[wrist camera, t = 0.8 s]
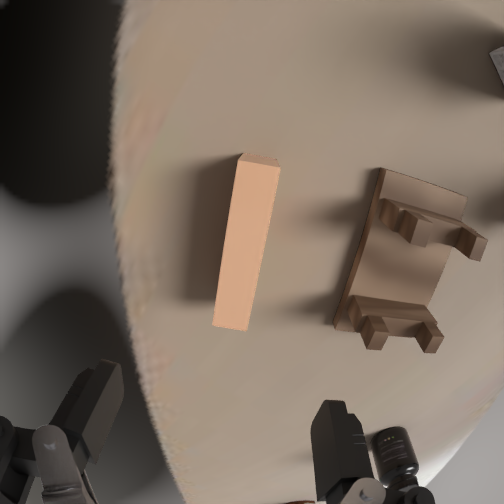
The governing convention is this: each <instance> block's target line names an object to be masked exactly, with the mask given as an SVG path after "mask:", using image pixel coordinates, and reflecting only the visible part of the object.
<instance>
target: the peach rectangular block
mask: <svg viewBox="0 0 504 504" xmlns="http://www.w3.org/2000/svg"><path fill="white" fill-rule="evenodd" d="M280 170H281V167H280V165H279V163H278V160H277V159H273V158H268V157H262V156H257V155H251V154H246V153H243V154H242V155H241V157H240V158H239V159H238V163H237V169H236V175H235V181H234V187H233V193H232V199H231V205H230V211H229V217H228V223H227V229H226V236H225V242H224V249H223V255H222V262H221V268H220V275H219V282H218V289H217V296H216V303H215V310H214V317H213V324H212V325H213V326H219V327H224V328H230V329H236V330H242V331H247V327H248V322H249V318H250V313H251V309H252V304H253V299H254V295H255V290H256V285H257V280H258V276H259V271H260V266H261V262H262V257H263V252H264V247H265V243H266V238H267V233H268V228H269V223H270V218H271V214H272V209H273V204H274V199H275V194H276V189H277V184H278V179H279V174H280Z"/></svg>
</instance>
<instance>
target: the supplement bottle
mask: <svg viewBox="0 0 504 504" xmlns="http://www.w3.org/2000/svg"><path fill="white" fill-rule="evenodd" d="M371 449H372V453H373V457H374V461H375V465H376V469H377V473H378V478H379V481H380V483H381V484H383V485H385V486H388V487H387V489H391V490H397V491H404V492H407V491H409V490H410V489H411V488H413V487H418V486H419V485H418V481H417V477H416V476H415V475H416V474H417V472H418V470H419V464H418V461H417V458H416V455H415V452H414V449H413V446H412V444H411V441H410V438H409V435H408V433H407V431H406V429H404V428H402V427H392V428H389V429H386V430H384V431H382V432H380V433H378V434H377V435H376V436H375V437H374V438H373V439H372V441H371Z"/></svg>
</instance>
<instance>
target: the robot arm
mask: <svg viewBox="0 0 504 504" xmlns="http://www.w3.org/2000/svg"><path fill="white" fill-rule="evenodd" d="M123 395H124V385H123V378H122V372H121V366H120V364H117V363H114V362H111V361H108V360H104V359H102V360H100V362H99V363H98V365H97V367H96V368H95V370H93V369H90V368H87V369H86V370H84V371H83V372H81V373H80V374H79V375H78V376H77V378H76V379H75V381H74V383H73V386H71V388H70V389H69V391H68V394H66V396H65V398H64V400H63V401H62V403H61V405H60V406H59V408H58V410H57V412H56V413H55V415H54V417H53V419H52V420H51V422H50V423H49V424H48V425H43V426H41V427H39V428H37V429H35V430H32V429H25V428H20V427H14V426H13V425H12V424H11V422H10V421H9V420H8V419H7V418H5V417H3V416H0V504H25V503H26V500H27V497H28V494H29V492H30V489H31V486H32V483H33V481H34V478H35V476H36V477H40V478H41V481H42V485H43V492H42V500H43V503H44V504H98V502H97V499H96V497H95V495H94V492H93V490H92V488H91V485H90V483H89V480H88V477H87V475H86V472H85V470H84V469H85V467H86V464H87V462H91V463H94V464H96V463H97V461H98V458H99V455H100V453H101V450H102V448H103V446H104V443H105V441H106V438H107V436H108V433H109V431H110V428H111V426H112V424H113V421H114V419H115V416H116V414H117V412H118V409H119V407H120V405H121V403H122V400H123ZM363 435H364V433H363V429H362V425H361V423H360V421H359V420H358V418H357V417H356V416H355V414H348V413H347V409H346V405H345V402H344V401H338V400H325V401H324V402H323V403H322V405H321V407H320V409H319V411H318V413H317V414H316V416H315V418H314V420H313V422H312V425H311V443H312V452H313V462H314V472H315V483H316V494H317V501H326V503H327V504H435V500H434V497H433V495H432V493H431V492H430V491H429V490H428V489H427V488H425V487H420V486H418V487H413V488H411V489H410V490H409V491H407V492H404V491H397V490H391V489H387V488H385V487H384V486H383V485H382V484H381V483H380V482H379V481H378V480H376V479H375V478H374V475H373V472H372V467H371V463H370V458H369V454H368V450H367V446H366V445H365V443H366V441H365V437H364V436H363Z"/></svg>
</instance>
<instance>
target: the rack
mask: <svg viewBox="0 0 504 504" xmlns="http://www.w3.org/2000/svg"><path fill="white" fill-rule="evenodd" d="M467 199H468V198H467V197H465V196H463V195H461V194H458V193H456V192H453V191H450V190H448V189H445V188H442V187H439V186H437V185H434V184H431V183H428V182H425V181H422V180H419V179H416V178H413V177H410V176H407V175H404V174H401V173H397V172H394V171H391V170H388V169H384V168H380V172H379V176H378V180H377V184H376V188H375V192H374V195H373V199H372V203H371V206H370V210H369V214H368V217H367V221H366V224H365V227H364V231H363V234H362V237H361V241H360V244H359V247H358V250H357V254H356V257H355V260H354V263H353V266H352V269H351V272H350V275H349V278H348V281H347V284H346V287H345V290H344V292H343V295H342V298H341V301H340V304H339V306H338V309H337V312H336V314H335V317H334V320H333V324H334V328H335V330H340V331H348V332H357V333H360V334H361V336H362V339H363V341H364V344H365V346H366V349H370V350H382V348H383V346H384V344H385V342H386V340H387V338H388V336H398V337H410V338H412V337H415V338H416V340H417V342H418V343H419V345H420V347H421V349H422V350H423V352H424V353H436V351H437V349H438V348H439V346H440V344H441V342H442V341H443V339H444V336H443V334H442V333H441V332H440V330H439V329H438V327H437V326H436V325H437V321H436V320H435V318H434V317H433V316H432V314H431V313H430V312H429V310H428V309H427V306H428V304H429V302H430V300H431V297H432V295H433V293H434V291H435V288H436V286H437V284H438V281H439V279H440V277H441V274H442V272H443V269H444V267H445V264H446V262H447V259H448V256H449V254H450V251H451V248H452V247H455V248H456V249H458V250H459V251H460V252H461V253H463V254H464V255H465V256H466V257H468V258H469V259H472V260H476V261H480V260H481V258H482V255H483V253H484V250H485V247H486V245H487V242H488V240H487V239H485V238H484V237H482V236H481V235H479V234H478V233H476V231H475V230H473V229H472V228H470V227H469V226H467V225H465V224H464V223H462V222H461V219H462V216H463V213H464V210H465V206H466V203H467Z"/></svg>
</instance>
